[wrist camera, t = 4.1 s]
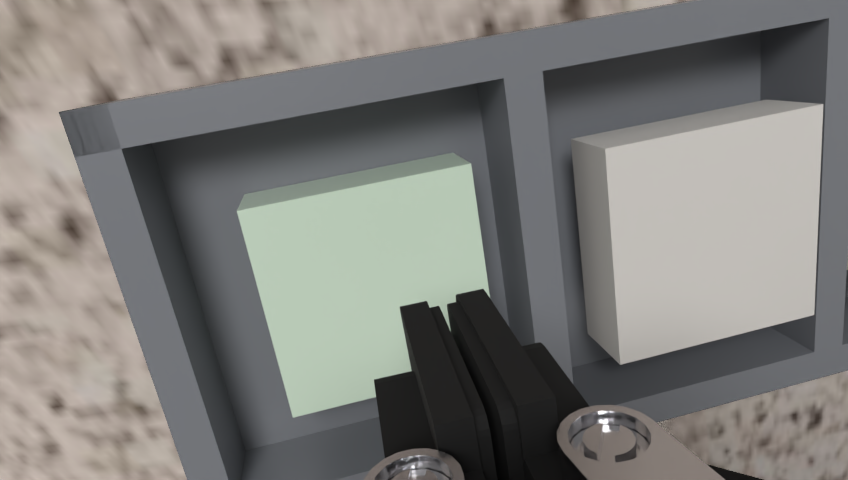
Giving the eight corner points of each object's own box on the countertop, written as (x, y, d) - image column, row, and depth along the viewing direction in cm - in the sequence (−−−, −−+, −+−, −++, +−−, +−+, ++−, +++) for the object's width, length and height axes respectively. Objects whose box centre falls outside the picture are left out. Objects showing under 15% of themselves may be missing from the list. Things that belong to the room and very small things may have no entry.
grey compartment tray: (999, -54, 21) (1174, -83, 17) (961, 261, 25) (1096, 302, 21) (119, 100, 17) (58, 112, 13) (228, 446, 21) (209, 544, 17)
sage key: (452, 152, 17) (471, 163, 16) (480, 336, 19) (499, 365, 17) (244, 194, 17) (236, 211, 15) (293, 381, 18) (292, 418, 17)
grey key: (766, 99, 17) (823, 103, 15) (763, 290, 19) (814, 315, 17) (570, 138, 16) (605, 148, 15) (587, 333, 18) (620, 364, 16)
